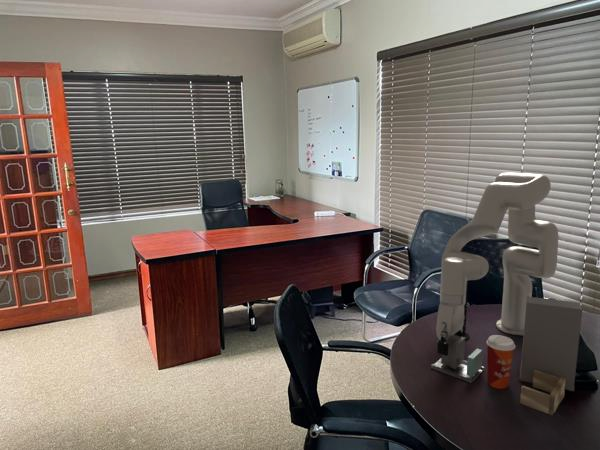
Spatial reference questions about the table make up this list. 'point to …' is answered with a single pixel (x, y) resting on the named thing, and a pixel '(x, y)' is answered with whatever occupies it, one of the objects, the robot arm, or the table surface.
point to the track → (456, 371)
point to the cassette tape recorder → (551, 339)
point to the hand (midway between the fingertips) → (449, 348)
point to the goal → (541, 399)
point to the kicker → (461, 355)
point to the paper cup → (499, 360)
